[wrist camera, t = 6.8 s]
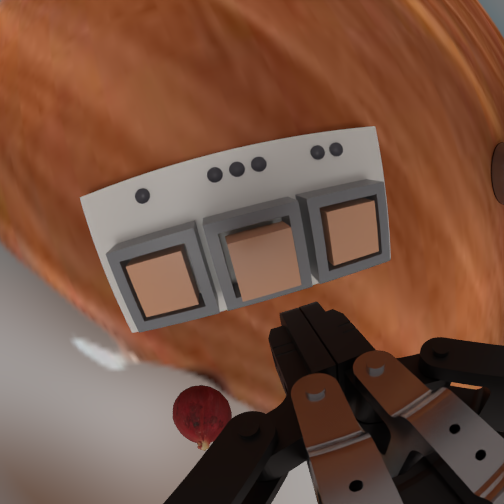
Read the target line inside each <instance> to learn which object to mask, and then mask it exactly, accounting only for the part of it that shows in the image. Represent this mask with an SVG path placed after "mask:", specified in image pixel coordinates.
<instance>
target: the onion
mask: <svg viewBox="0 0 504 504" xmlns="http://www.w3.org/2000/svg"><path fill="white" fill-rule="evenodd" d="M231 419H232V415H231V409H230V406H229V403H228V401H227V399H226V398H225V397H224V396H223V395H222V394H221V393H220V392H219V391H217V390H215V389H213V388H211V387H208V386H203V385H200V386H192V387H190V388H188V389H186V390H184V391H183V392H182V393H180V395H179V396H178V398H177V399H176V400H175V403H174V405H173V420H174V423H175V425H176V427H177V428H178V430H179V431H180V433H181V434H182V435H183V436H185V437H186V438H187V439H189V440H190V441H192V442H195V443H197V444H198V449H201V450H204V451H205V450H206V449H208V448H209V444H210V442H213V441H215V439H216V438H217V437H218V435H219V434H220V433H221V431H222V430H223V428H224V427H225V426H226V424H227V423H228V422H229V421H230V420H231Z"/></svg>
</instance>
